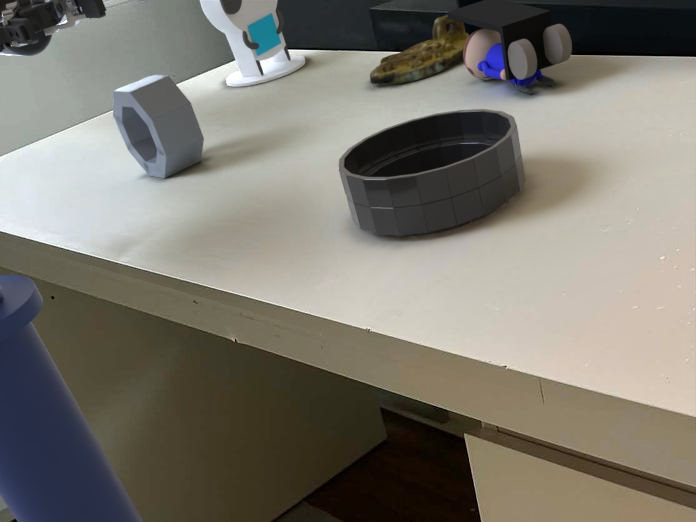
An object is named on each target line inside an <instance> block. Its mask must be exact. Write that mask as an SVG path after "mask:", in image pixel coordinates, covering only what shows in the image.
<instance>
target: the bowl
mask: <svg viewBox="0 0 696 522" xmlns="http://www.w3.org/2000/svg"><path fill="white" fill-rule="evenodd" d="M515 119H516V118H515V117H514V116H513V115H511V114H509V113H506V112H505V111H502V110H494V109H487V108H477V109H458V110H457V109H456V110H452V111H445V112H444V111H443V112H438V113H432V114H429V115H424V116H420V117H417V118H412V119H408V120H406V121H403V122H400V123H396V124H394V125H391V126H388V127H386V128H384V129H381V130H379V131H377V132H374V133H372V134H370V135H368V136H366V137H364V138H362V139H360V140H359V141H358V142H357V143H355V144H353V145H352V146H350V147H349V148H348V149H346V151H345V152H344V153H342V155H341V157H339V159H338V167H337V170H338V173H339V178H340V180H341V184H342V187H343V190H344V195H345V198H346V201H347V205H348V209H349V212H350V215H351V219H352V221H353V223H354V224H355V225H356V226H357V227H358V228H359V229H360V230H362V231H365V232H368V233H372V234H375V235H378V236H381V235H382V236H388V237H399V238H400V237H401V238H402V237H403V238H405V237H406V238H408V237H421V236H428V235H434V234H440V233H444V232H448V231H451V230H456V229H459V228H461V227H464V226H467V225H469V224H473V223H475V222H478V221H480V220H481V219H484V218H486V217H488V216H490V215H491V214H493V213H495V212H496V211H498V210H499V209H501V208H502V207H503V206H505V205H506V204H508V203H509V202H510V201H512V199H514V198H515V197H516V196H517V195H518V194H520V193H521V191H522V189H523V188H524V185H525V183H526V175H525V169H524V162H523V155H522V148H521V142H520V136H519V129H518V125H517V122H516V120H515Z"/></svg>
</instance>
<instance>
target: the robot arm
mask: <svg viewBox="0 0 696 522" xmlns="http://www.w3.org/2000/svg"><path fill="white" fill-rule="evenodd" d="M107 10H108V9H107V8H106V6H105V3H104V0H0V55H2V56H3V55H5V56H19V57H32V56H37V55H39V54H41V53H43V52H44V51H45V50H46V49H47V48H48V46H49V45H50V43H51V41H52V38H53V35H54V34H56V33H58V32H59V31H62V30H66V29H71V28H74V27H76V26H78V25H79V24H80V22H81V21H83V20H87V19H88V20H91V19H102V18H104V17H106V16H107V14H106V13H107V12H106V11H107ZM65 17H66V20H65V21H64V19H65ZM3 297H4V294H3V292H2V290H1V289H0V302H1V301H2V299H3Z"/></svg>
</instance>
